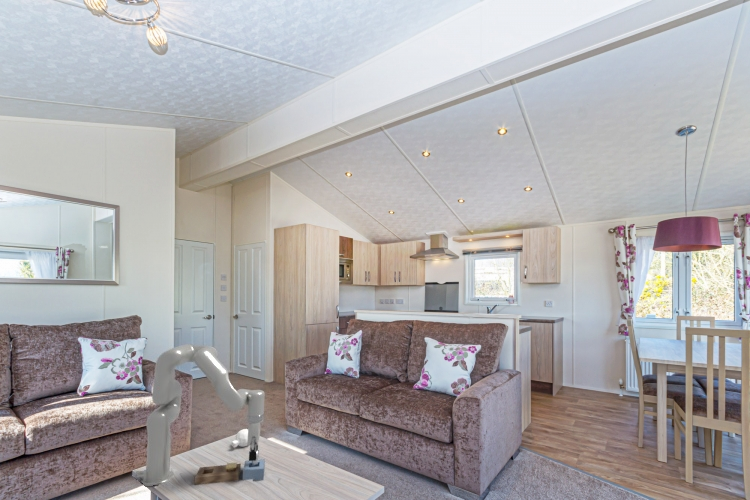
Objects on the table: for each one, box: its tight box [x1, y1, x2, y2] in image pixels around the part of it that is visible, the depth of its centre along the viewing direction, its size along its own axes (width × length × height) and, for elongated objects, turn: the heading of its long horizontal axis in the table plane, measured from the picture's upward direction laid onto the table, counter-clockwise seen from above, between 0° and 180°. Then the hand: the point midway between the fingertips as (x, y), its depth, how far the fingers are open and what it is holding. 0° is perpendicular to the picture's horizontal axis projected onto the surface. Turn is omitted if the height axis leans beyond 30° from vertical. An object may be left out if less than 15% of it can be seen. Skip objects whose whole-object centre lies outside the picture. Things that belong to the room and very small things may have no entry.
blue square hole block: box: [242, 458, 266, 482], centre depth 180 cm, size 9×10×5 cm
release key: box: [225, 462, 238, 472], centre depth 178 cm, size 4×4×5 cm
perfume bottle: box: [231, 428, 248, 448], centre depth 213 cm, size 9×9×12 cm
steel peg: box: [251, 449, 260, 467], centre depth 181 cm, size 3×3×10 cm
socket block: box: [194, 463, 242, 486], centre depth 177 cm, size 18×10×4 cm, turn 103°
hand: (253, 455), depth 181 cm, fingers open, 9 cm apart
